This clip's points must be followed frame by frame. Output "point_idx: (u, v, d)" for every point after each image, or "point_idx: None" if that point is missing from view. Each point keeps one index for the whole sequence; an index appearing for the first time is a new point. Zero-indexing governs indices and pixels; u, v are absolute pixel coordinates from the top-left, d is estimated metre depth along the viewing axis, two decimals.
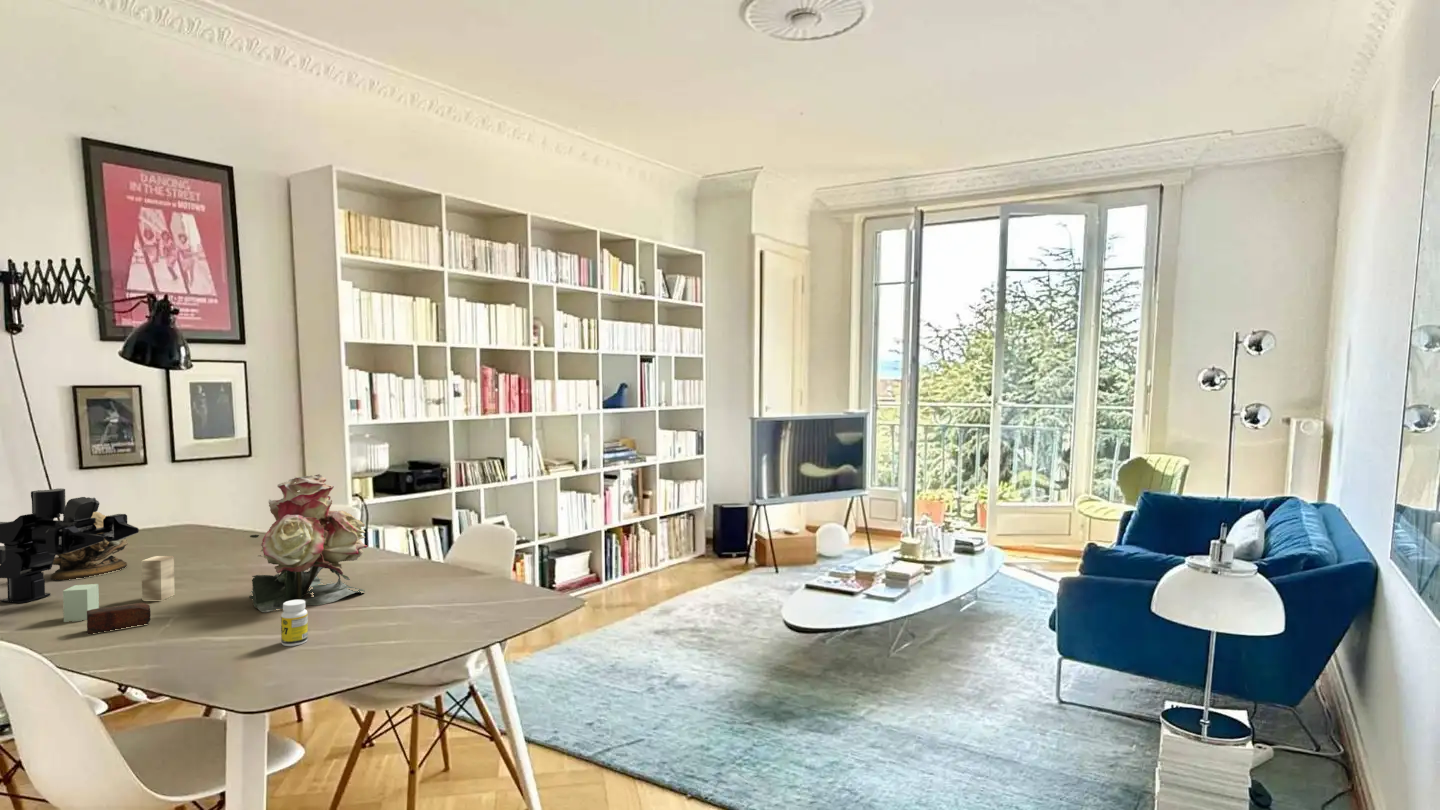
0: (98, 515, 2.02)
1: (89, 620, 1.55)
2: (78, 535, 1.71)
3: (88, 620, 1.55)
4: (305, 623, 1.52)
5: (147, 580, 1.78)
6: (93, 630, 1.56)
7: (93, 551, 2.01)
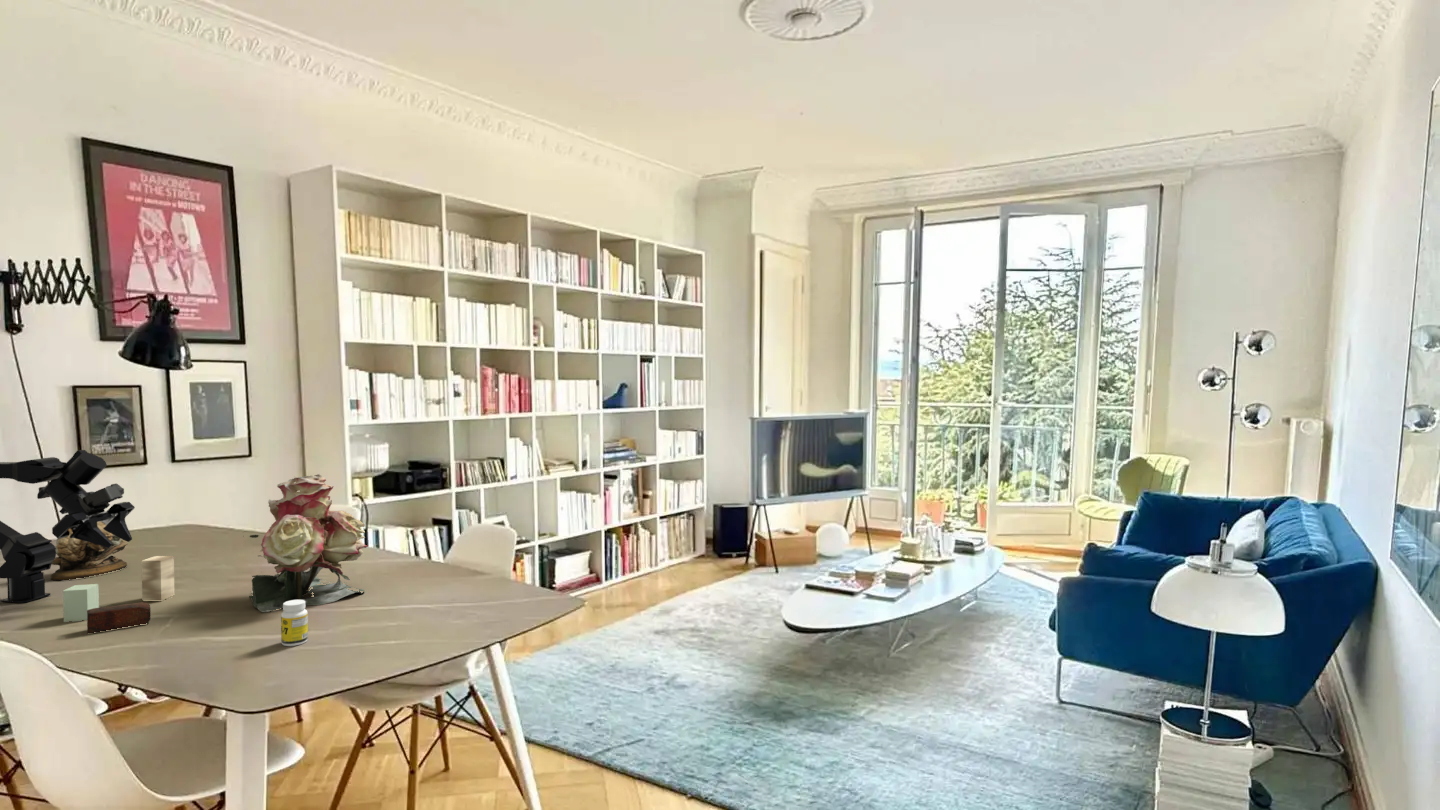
0: None
1: (89, 619, 1.56)
2: (93, 530, 1.75)
3: (88, 619, 1.56)
4: (305, 623, 1.52)
5: (147, 580, 1.78)
6: (93, 629, 1.56)
7: (93, 551, 2.01)
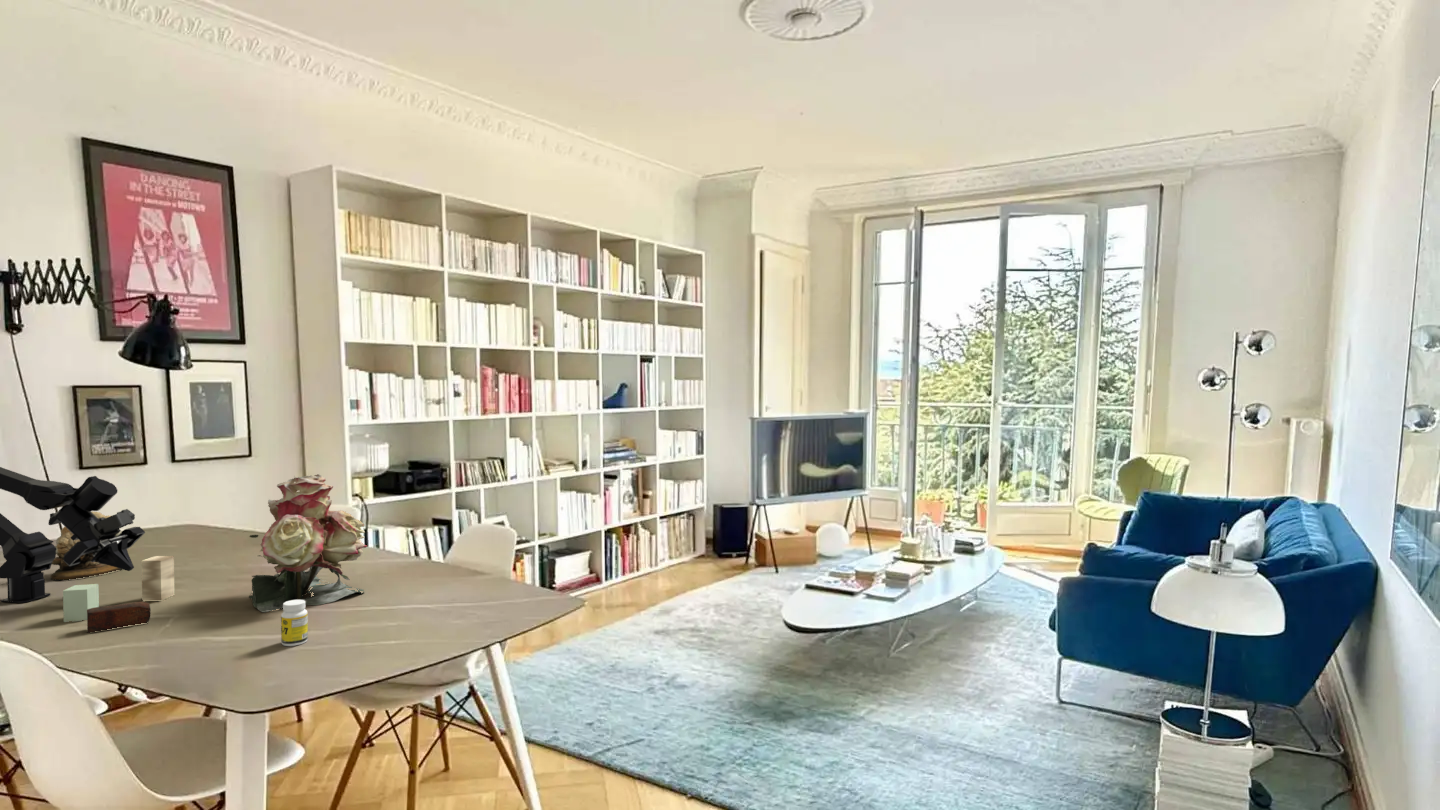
0: (98, 515, 2.02)
1: (89, 619, 1.56)
2: (114, 554, 1.78)
3: (88, 618, 1.56)
4: (305, 623, 1.52)
5: (147, 580, 1.78)
6: (93, 628, 1.57)
7: None
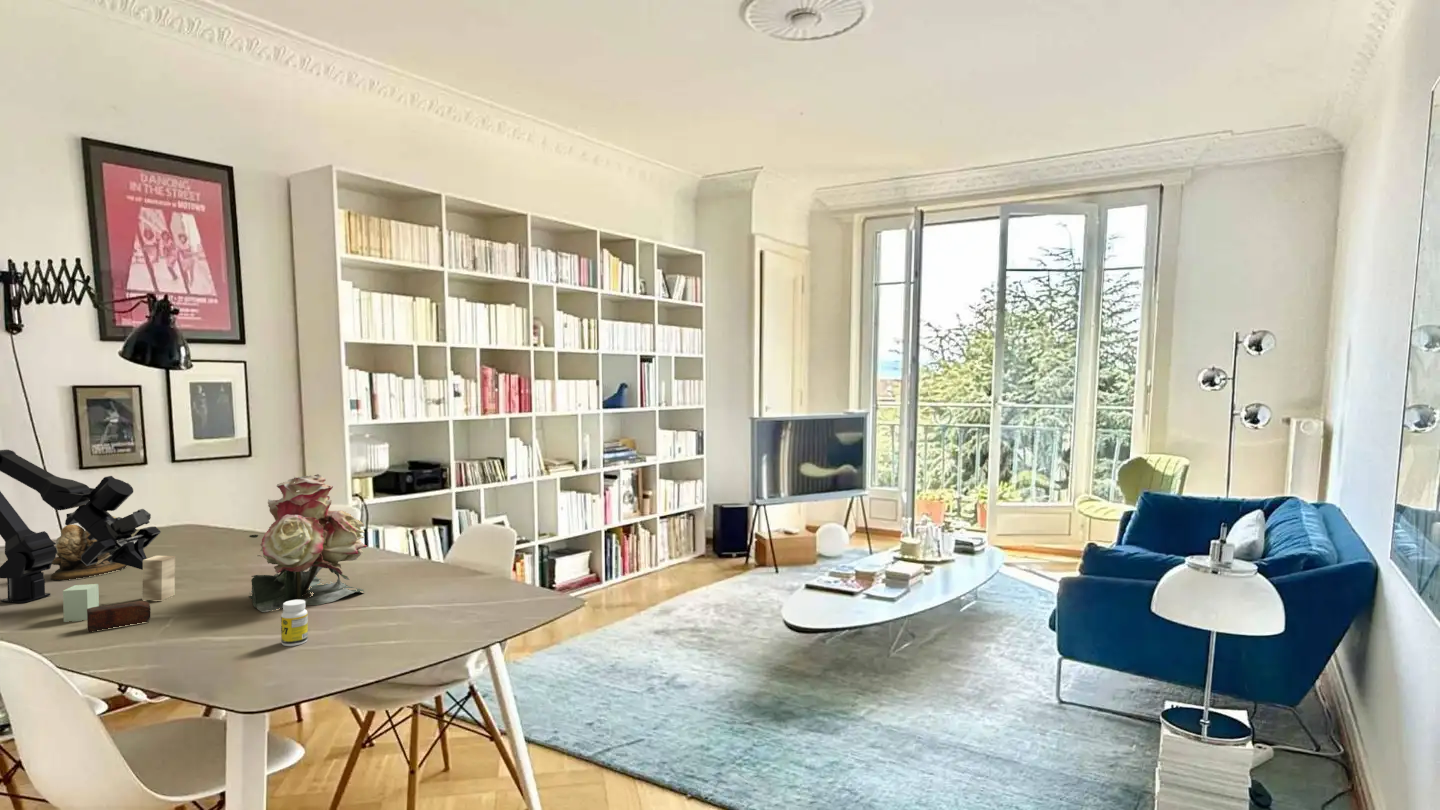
0: None
1: (89, 618, 1.57)
2: (131, 554, 1.78)
3: (89, 618, 1.57)
4: (305, 623, 1.52)
5: (148, 580, 1.78)
6: (93, 628, 1.57)
7: None
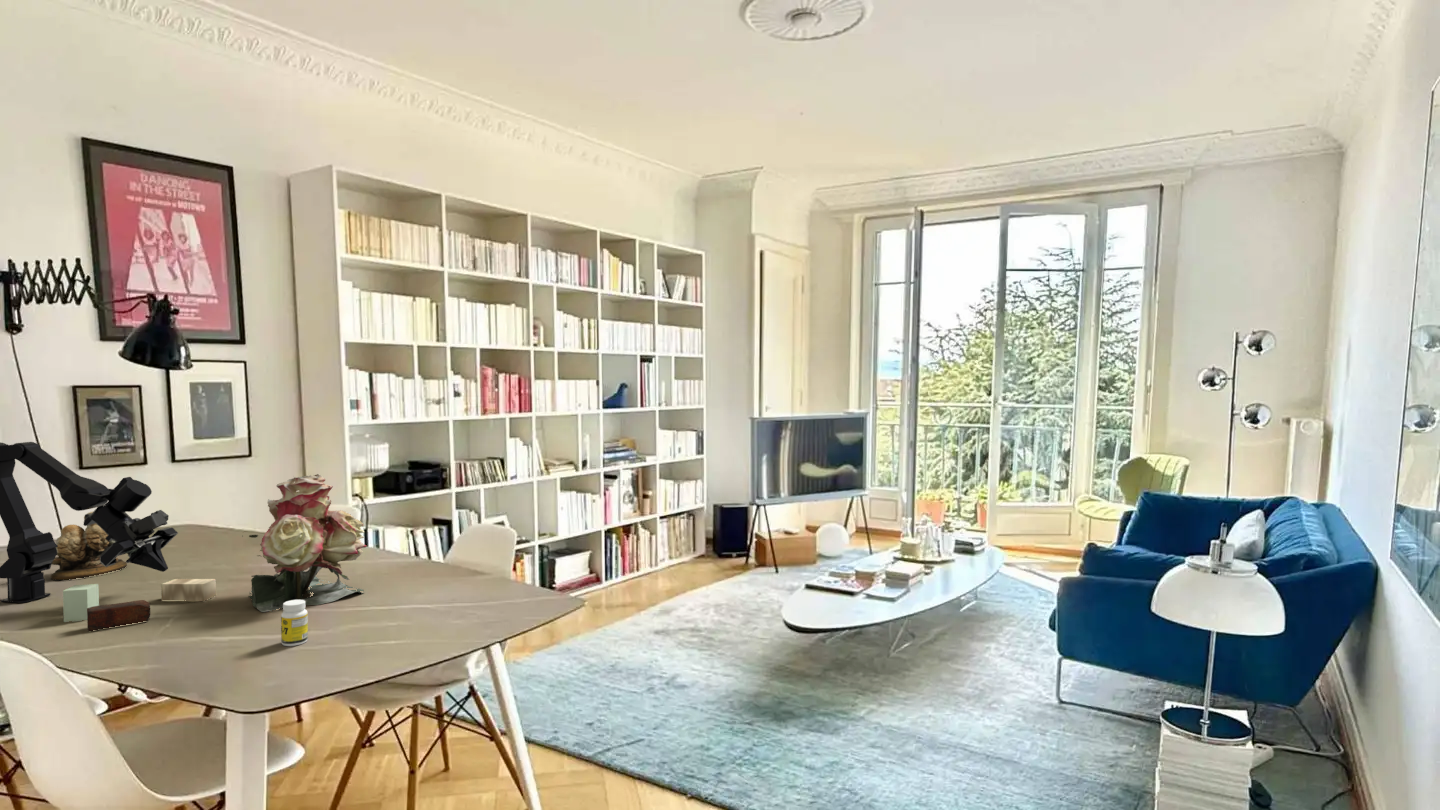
0: None
1: (90, 617, 1.57)
2: (149, 555, 1.78)
3: (89, 617, 1.57)
4: (305, 623, 1.52)
5: (183, 589, 1.79)
6: (93, 627, 1.58)
7: (93, 551, 2.01)
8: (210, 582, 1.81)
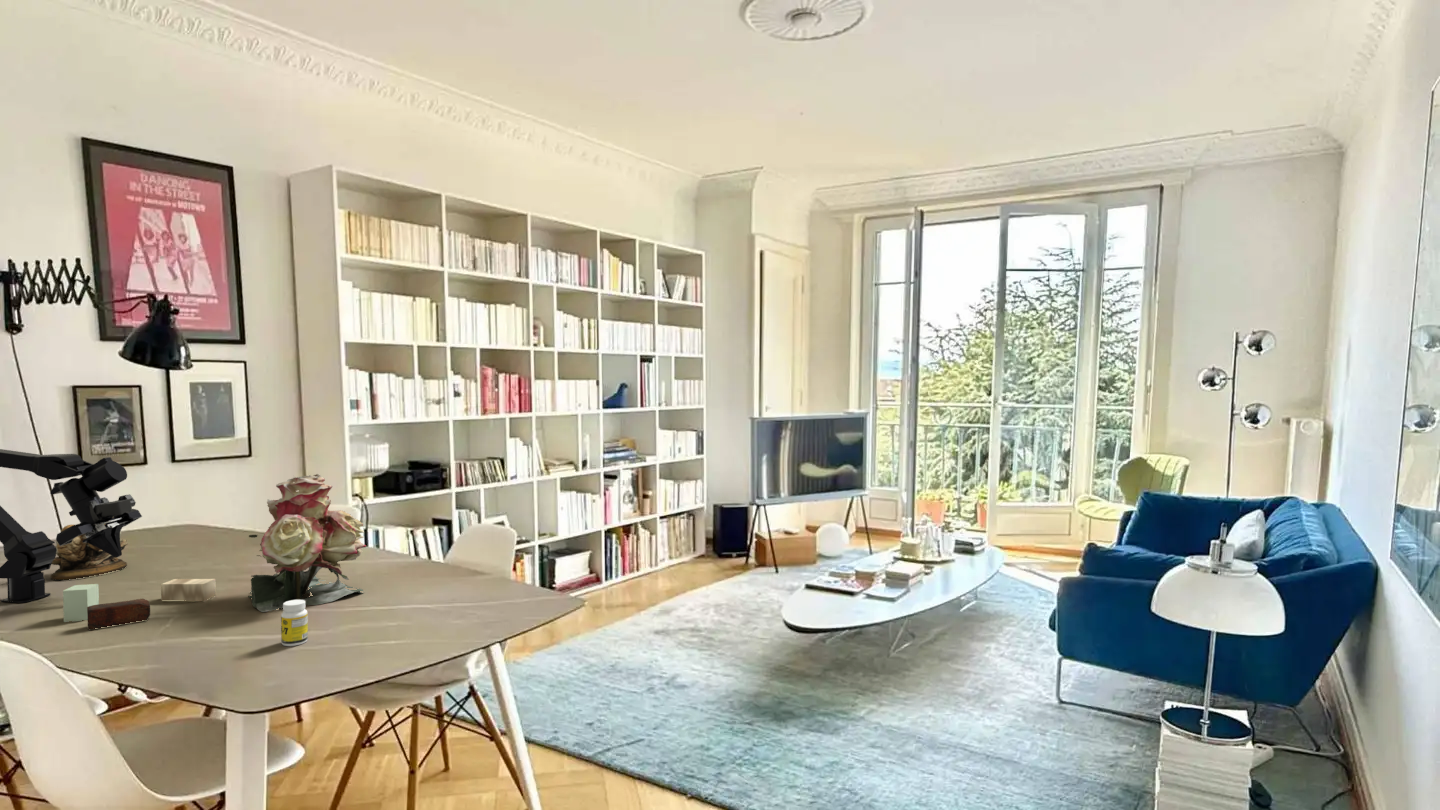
0: None
1: (90, 616, 1.58)
2: (106, 539, 1.78)
3: (89, 616, 1.58)
4: (305, 623, 1.52)
5: (183, 589, 1.78)
6: (93, 626, 1.59)
7: (93, 551, 2.01)
8: (210, 582, 1.81)
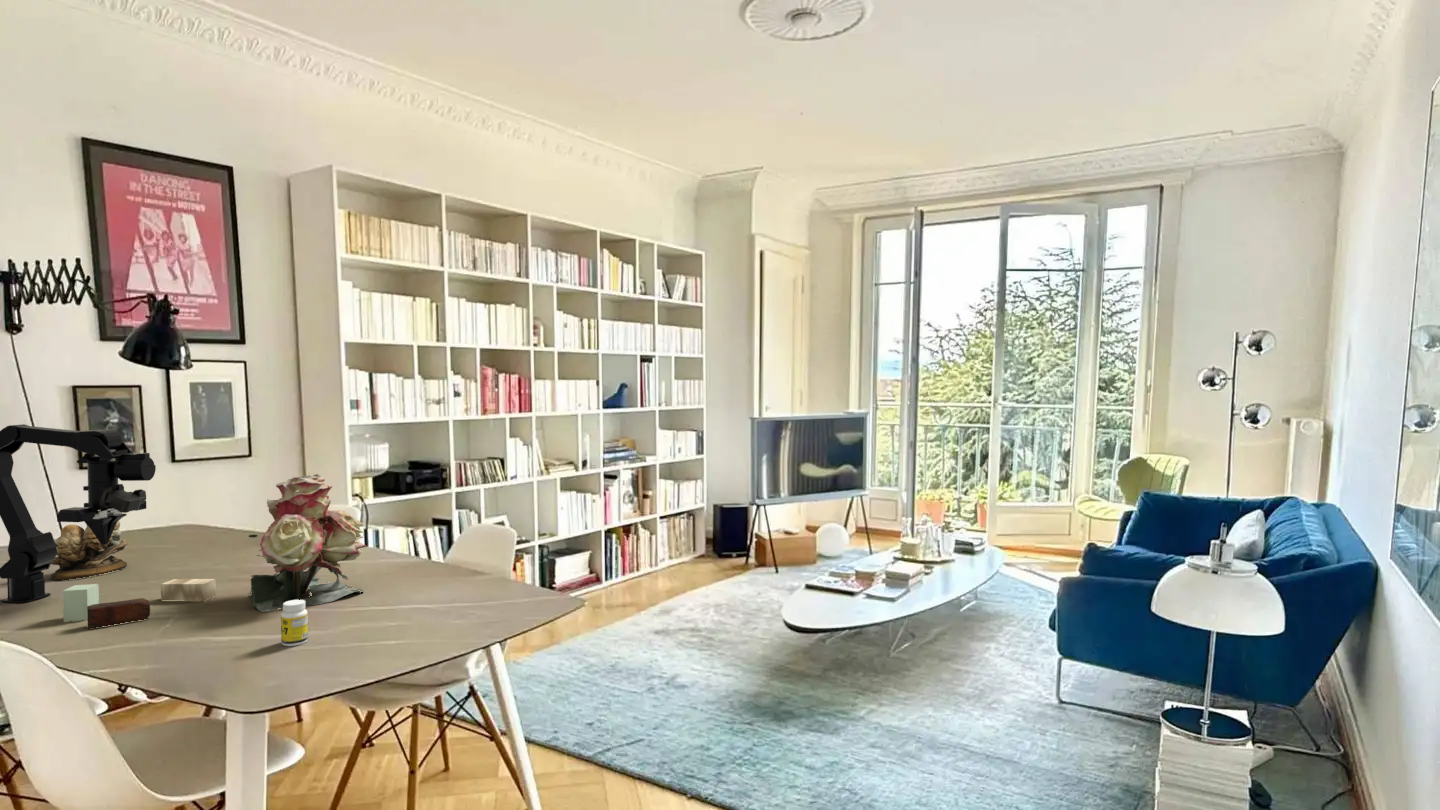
0: None
1: (90, 615, 1.58)
2: (101, 526, 1.79)
3: (89, 615, 1.58)
4: (305, 623, 1.52)
5: (183, 589, 1.78)
6: (93, 625, 1.59)
7: (93, 551, 2.01)
8: (210, 582, 1.81)
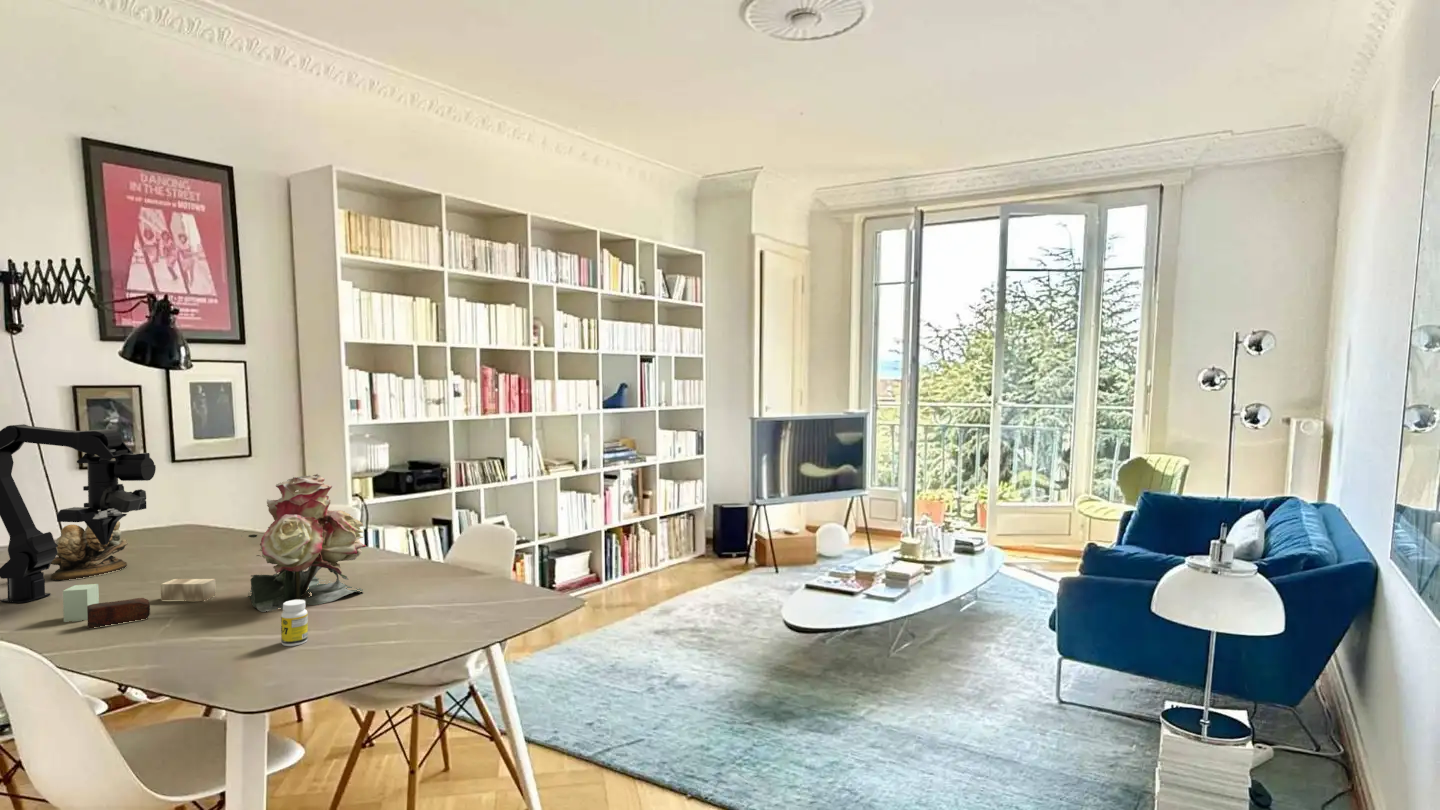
0: None
1: (90, 615, 1.59)
2: (101, 526, 1.79)
3: (89, 615, 1.59)
4: (305, 623, 1.52)
5: (182, 589, 1.78)
6: (93, 624, 1.59)
7: (93, 551, 2.01)
8: (210, 582, 1.81)
